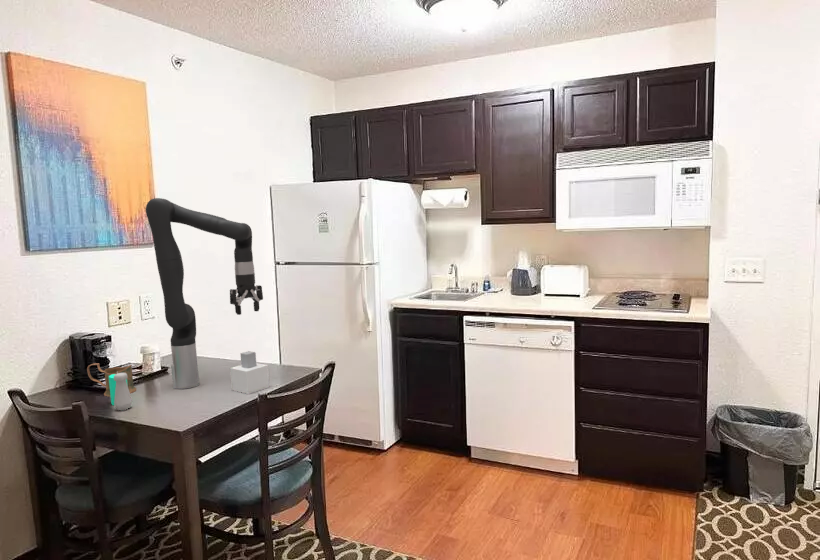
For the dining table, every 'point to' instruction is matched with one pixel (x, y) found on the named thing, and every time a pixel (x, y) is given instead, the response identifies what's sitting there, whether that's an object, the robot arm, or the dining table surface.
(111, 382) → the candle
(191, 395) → the dining table surface
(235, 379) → the white block with knob
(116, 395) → the salt shaker
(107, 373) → the mug
